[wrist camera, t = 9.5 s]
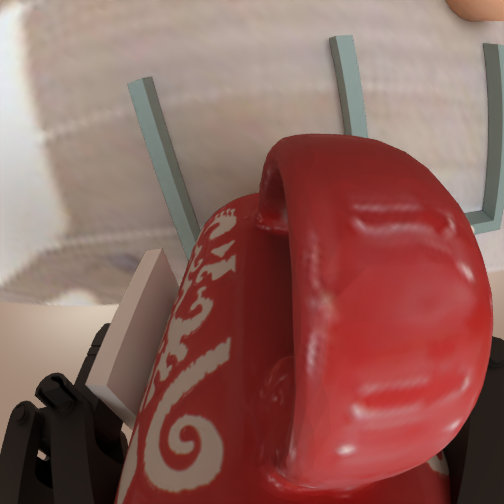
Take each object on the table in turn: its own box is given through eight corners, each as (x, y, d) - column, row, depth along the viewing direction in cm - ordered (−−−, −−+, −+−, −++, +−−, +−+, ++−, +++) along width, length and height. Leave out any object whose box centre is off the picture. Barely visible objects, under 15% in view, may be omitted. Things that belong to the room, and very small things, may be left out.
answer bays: (202, 271, 31) (197, 289, 28) (137, 81, 21) (124, 84, 19) (488, 221, 27) (501, 234, 24) (492, 44, 17) (510, 46, 14)
